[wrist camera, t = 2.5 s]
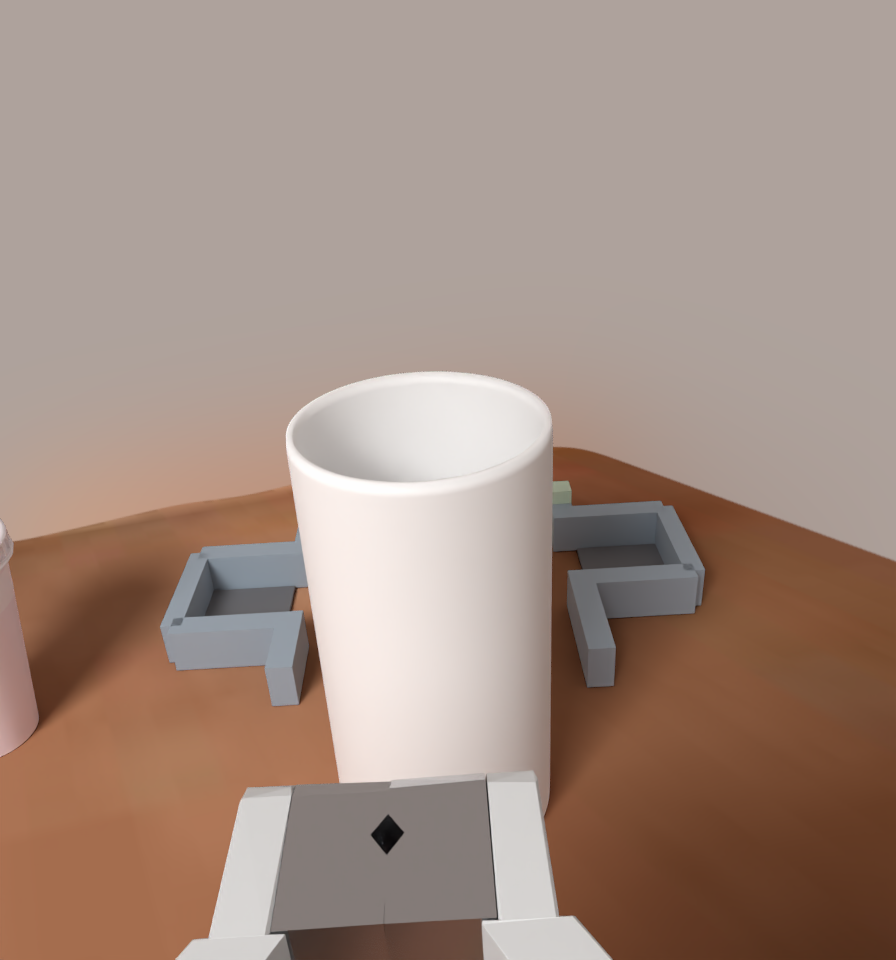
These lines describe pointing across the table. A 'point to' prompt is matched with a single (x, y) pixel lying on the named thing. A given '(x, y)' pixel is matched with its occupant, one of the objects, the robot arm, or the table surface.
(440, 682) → the cup
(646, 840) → the table surface
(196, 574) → the box
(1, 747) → the smoothie
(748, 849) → the table surface
